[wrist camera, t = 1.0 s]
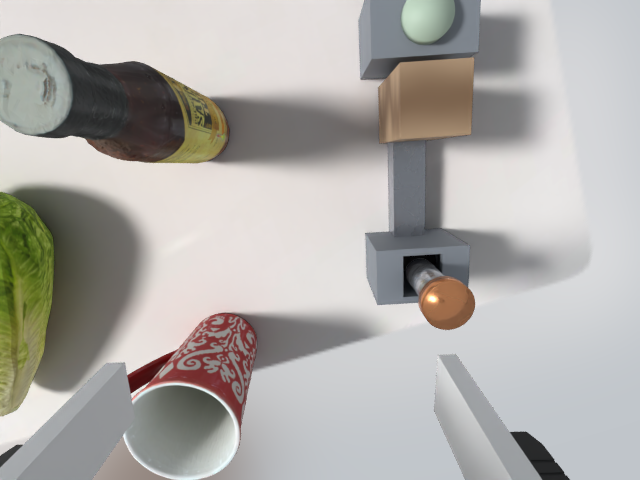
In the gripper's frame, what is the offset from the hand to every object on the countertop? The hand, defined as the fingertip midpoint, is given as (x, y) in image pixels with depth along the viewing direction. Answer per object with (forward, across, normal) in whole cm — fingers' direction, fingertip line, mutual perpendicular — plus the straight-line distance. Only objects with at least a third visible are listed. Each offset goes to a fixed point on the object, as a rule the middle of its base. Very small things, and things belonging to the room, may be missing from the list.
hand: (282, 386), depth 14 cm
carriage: (+22, +10, +13) cm, 27 cm away
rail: (+23, +10, +9) cm, 26 cm away
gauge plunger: (+17, +11, -1) cm, 20 cm away
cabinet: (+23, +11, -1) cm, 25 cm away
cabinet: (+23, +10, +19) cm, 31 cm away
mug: (+23, -11, -11) cm, 28 cm away
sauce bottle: (+23, -10, +12) cm, 28 cm away
